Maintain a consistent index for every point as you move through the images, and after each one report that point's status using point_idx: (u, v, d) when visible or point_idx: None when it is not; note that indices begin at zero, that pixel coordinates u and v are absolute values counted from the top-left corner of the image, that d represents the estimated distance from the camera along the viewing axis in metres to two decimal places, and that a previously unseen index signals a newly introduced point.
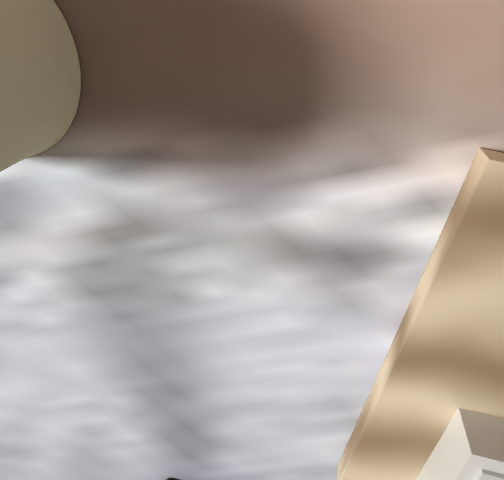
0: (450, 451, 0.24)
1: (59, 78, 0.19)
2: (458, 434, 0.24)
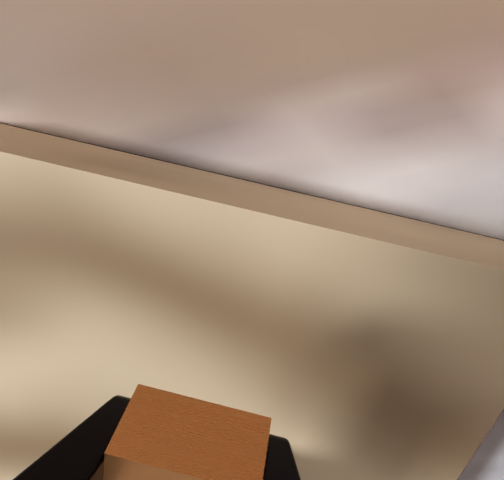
0: None
1: None
2: None
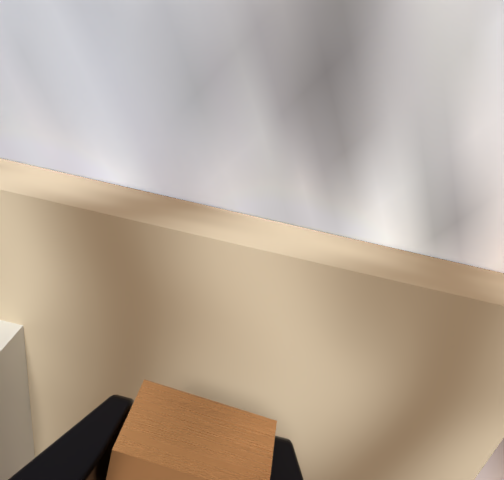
0: None
1: None
2: None
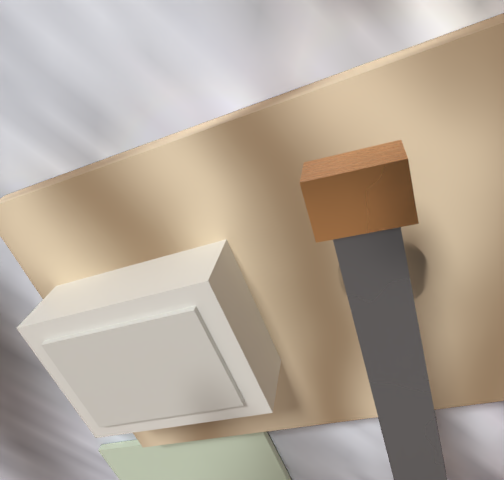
0: (172, 269, 0.17)
1: None
2: (202, 259, 0.17)
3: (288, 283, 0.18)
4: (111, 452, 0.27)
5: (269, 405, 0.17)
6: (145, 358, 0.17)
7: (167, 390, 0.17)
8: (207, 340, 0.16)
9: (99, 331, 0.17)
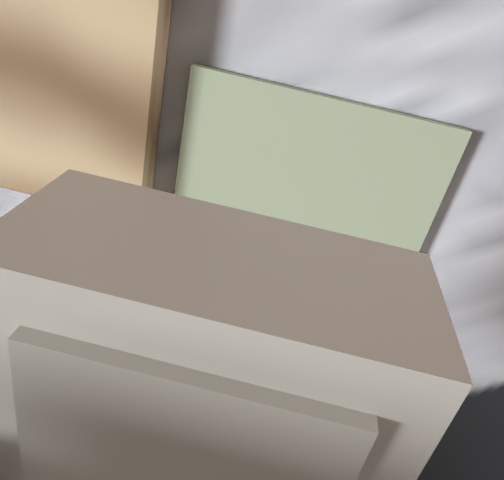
0: None
1: None
2: None
3: None
4: None
5: (438, 375, 0.05)
6: None
7: None
8: (111, 370, 0.05)
9: None
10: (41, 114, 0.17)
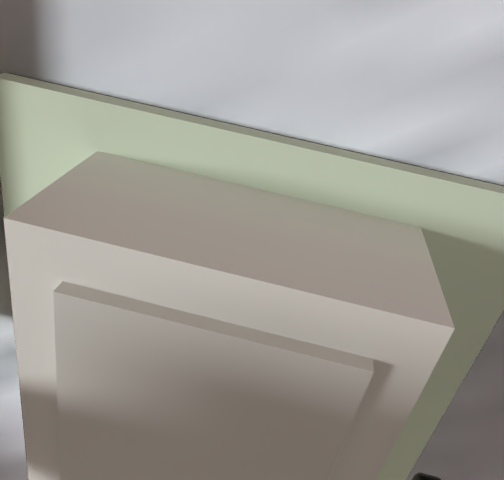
0: None
1: None
2: None
3: None
4: None
5: (425, 320, 0.06)
6: (146, 444, 0.08)
7: (244, 465, 0.07)
8: (143, 318, 0.06)
9: None
10: None
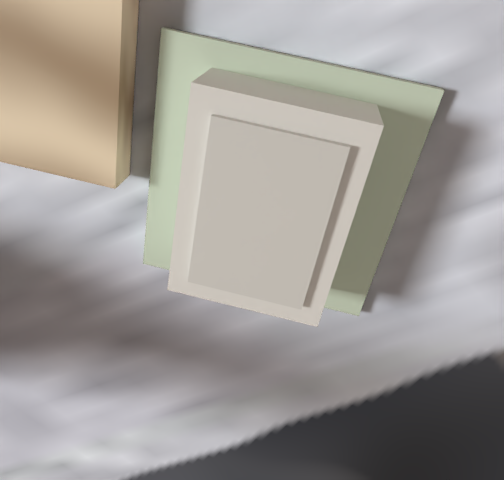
0: None
1: None
2: None
3: None
4: (149, 250, 0.21)
5: (371, 123, 0.14)
6: (243, 203, 0.16)
7: (290, 211, 0.16)
8: (250, 127, 0.15)
9: (197, 222, 0.17)
10: (15, 80, 0.17)
